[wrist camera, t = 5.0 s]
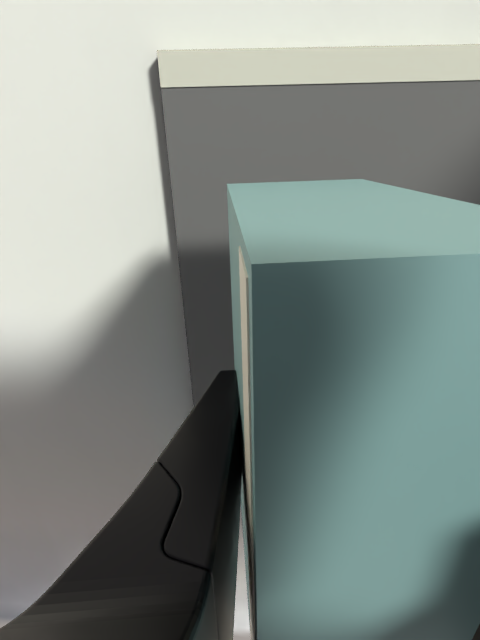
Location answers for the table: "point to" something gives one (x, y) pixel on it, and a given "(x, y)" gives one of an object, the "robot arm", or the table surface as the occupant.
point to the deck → (357, 409)
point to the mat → (303, 146)
